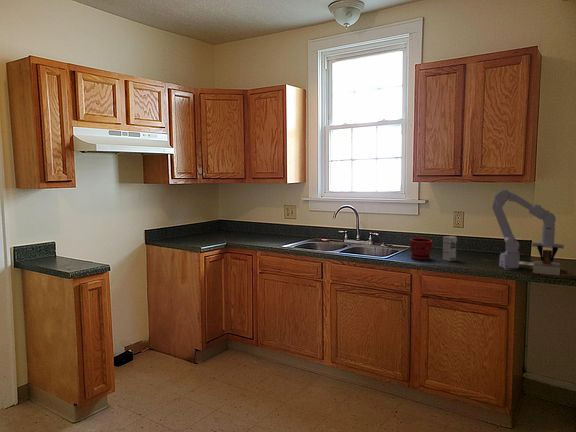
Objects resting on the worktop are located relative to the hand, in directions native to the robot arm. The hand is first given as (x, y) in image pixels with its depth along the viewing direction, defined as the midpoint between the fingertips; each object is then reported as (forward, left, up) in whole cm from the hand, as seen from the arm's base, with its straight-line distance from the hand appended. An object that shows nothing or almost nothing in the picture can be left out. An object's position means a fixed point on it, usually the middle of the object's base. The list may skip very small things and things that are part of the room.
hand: (546, 260), depth 235 cm
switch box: (0, 0, -6) cm, 6 cm away
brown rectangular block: (0, 0, -1) cm, 1 cm away
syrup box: (-39, +34, -6) cm, 52 cm away
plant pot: (-55, +39, -6) cm, 68 cm away
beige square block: (-1, +18, -6) cm, 19 cm away
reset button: (0, 0, -5) cm, 5 cm away
